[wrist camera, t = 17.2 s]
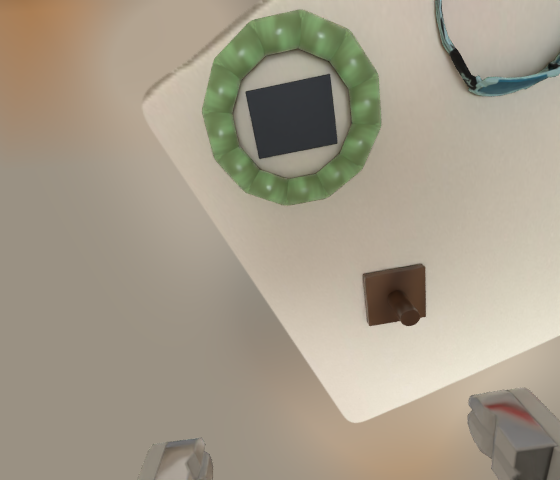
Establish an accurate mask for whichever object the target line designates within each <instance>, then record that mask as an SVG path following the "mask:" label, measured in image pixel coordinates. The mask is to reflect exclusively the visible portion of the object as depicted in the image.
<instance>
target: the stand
mask: <svg viewBox="0 0 560 480" xmlns="http://www.w3.org/2000/svg"><path fill="white" fill-rule="evenodd" d="M363 281H364V292H365V302H366V312H367V322H368V324H369V326H373V325H379V324H385V323H391V322H397V321H401V323H402V324H404V325H406V326H412V325H415V324H416V323H417V322H418V321H419V319H420V318H422V317H426V290H425V266H423V265H422V264H419V265H414V266H408V267H402V268H396V269H391V270H385V271H379V272H374V273H368V274H363Z"/></svg>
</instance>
